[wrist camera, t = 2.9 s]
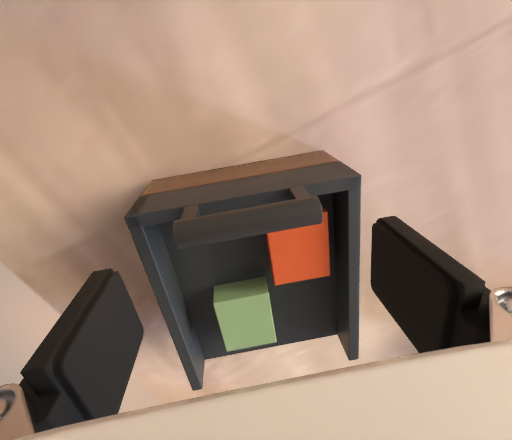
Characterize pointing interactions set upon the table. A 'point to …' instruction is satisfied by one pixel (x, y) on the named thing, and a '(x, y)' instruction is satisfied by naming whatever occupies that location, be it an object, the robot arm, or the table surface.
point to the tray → (250, 256)
